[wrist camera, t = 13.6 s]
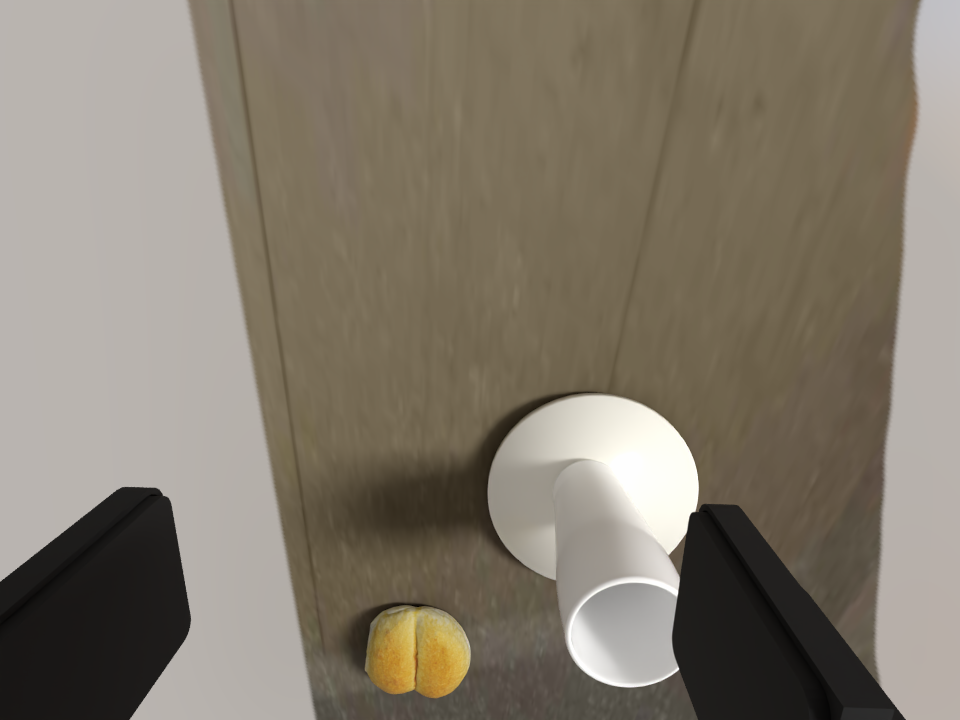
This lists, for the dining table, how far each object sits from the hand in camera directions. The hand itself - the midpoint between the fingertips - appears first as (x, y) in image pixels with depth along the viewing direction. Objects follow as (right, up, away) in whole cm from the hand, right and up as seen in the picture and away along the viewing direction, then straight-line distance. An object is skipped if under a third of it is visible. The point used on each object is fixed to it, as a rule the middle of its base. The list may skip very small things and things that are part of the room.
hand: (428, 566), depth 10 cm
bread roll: (-5, -21, +38) cm, 44 cm away
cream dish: (+10, -6, +34) cm, 35 cm away
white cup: (+9, -6, +32) cm, 34 cm away
